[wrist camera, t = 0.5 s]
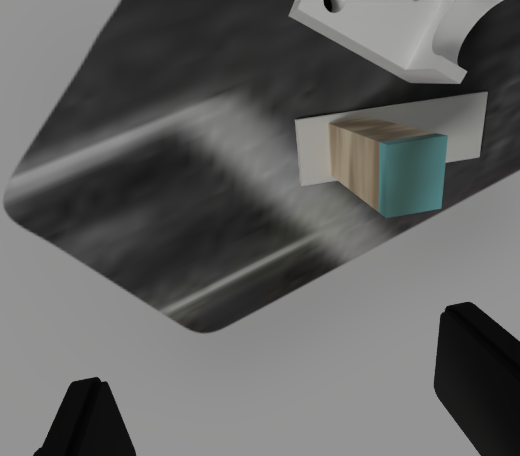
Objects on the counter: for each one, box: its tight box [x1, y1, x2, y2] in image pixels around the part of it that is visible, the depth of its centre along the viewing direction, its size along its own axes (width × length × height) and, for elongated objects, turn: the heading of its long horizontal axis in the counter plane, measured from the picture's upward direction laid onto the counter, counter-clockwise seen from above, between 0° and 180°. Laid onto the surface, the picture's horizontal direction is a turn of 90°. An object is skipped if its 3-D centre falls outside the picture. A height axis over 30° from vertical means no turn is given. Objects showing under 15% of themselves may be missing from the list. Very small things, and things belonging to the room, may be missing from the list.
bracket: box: [289, 0, 503, 84], centre depth 27 cm, size 13×7×8 cm, turn 66°
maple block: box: [328, 117, 448, 218], centre depth 29 cm, size 4×5×12 cm
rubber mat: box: [295, 92, 488, 186], centre depth 35 cm, size 19×6×1 cm, turn 97°
